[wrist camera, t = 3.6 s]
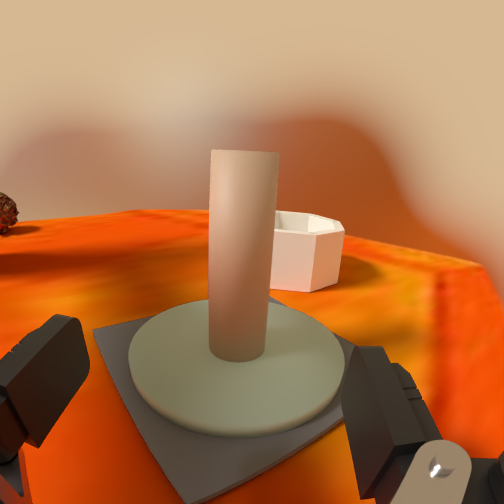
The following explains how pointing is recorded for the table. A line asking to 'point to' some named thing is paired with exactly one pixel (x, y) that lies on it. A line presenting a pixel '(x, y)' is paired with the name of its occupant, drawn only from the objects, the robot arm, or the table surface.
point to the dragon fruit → (7, 213)
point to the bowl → (305, 252)
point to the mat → (201, 445)
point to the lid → (237, 326)
